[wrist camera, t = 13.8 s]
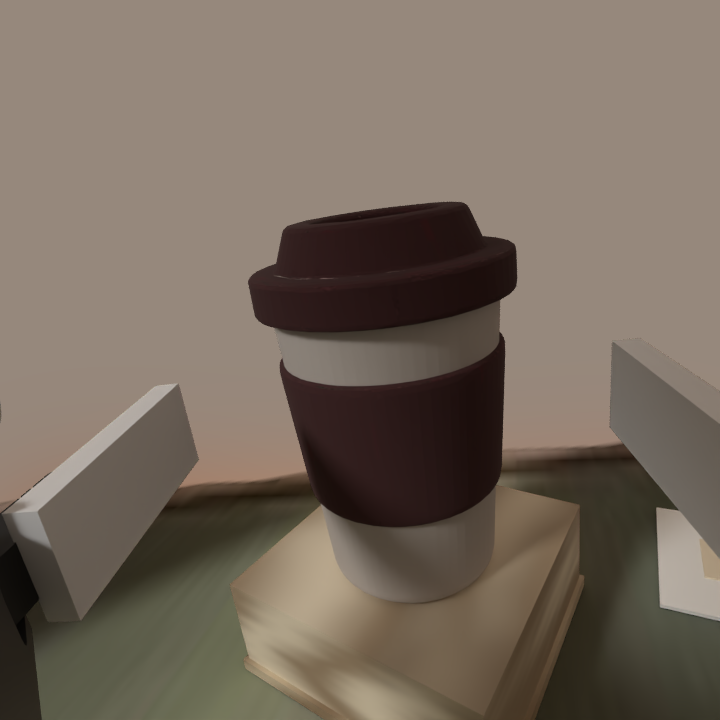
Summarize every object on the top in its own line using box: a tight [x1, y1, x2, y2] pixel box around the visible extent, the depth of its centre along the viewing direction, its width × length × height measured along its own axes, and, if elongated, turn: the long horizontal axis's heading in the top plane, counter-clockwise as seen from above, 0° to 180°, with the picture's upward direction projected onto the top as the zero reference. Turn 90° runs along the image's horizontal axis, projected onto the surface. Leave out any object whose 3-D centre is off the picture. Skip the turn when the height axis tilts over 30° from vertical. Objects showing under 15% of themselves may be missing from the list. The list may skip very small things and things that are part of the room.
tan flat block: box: [230, 485, 584, 720], centre depth 25 cm, size 12×12×5 cm
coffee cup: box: [248, 202, 517, 603], centre depth 21 cm, size 10×10×15 cm
